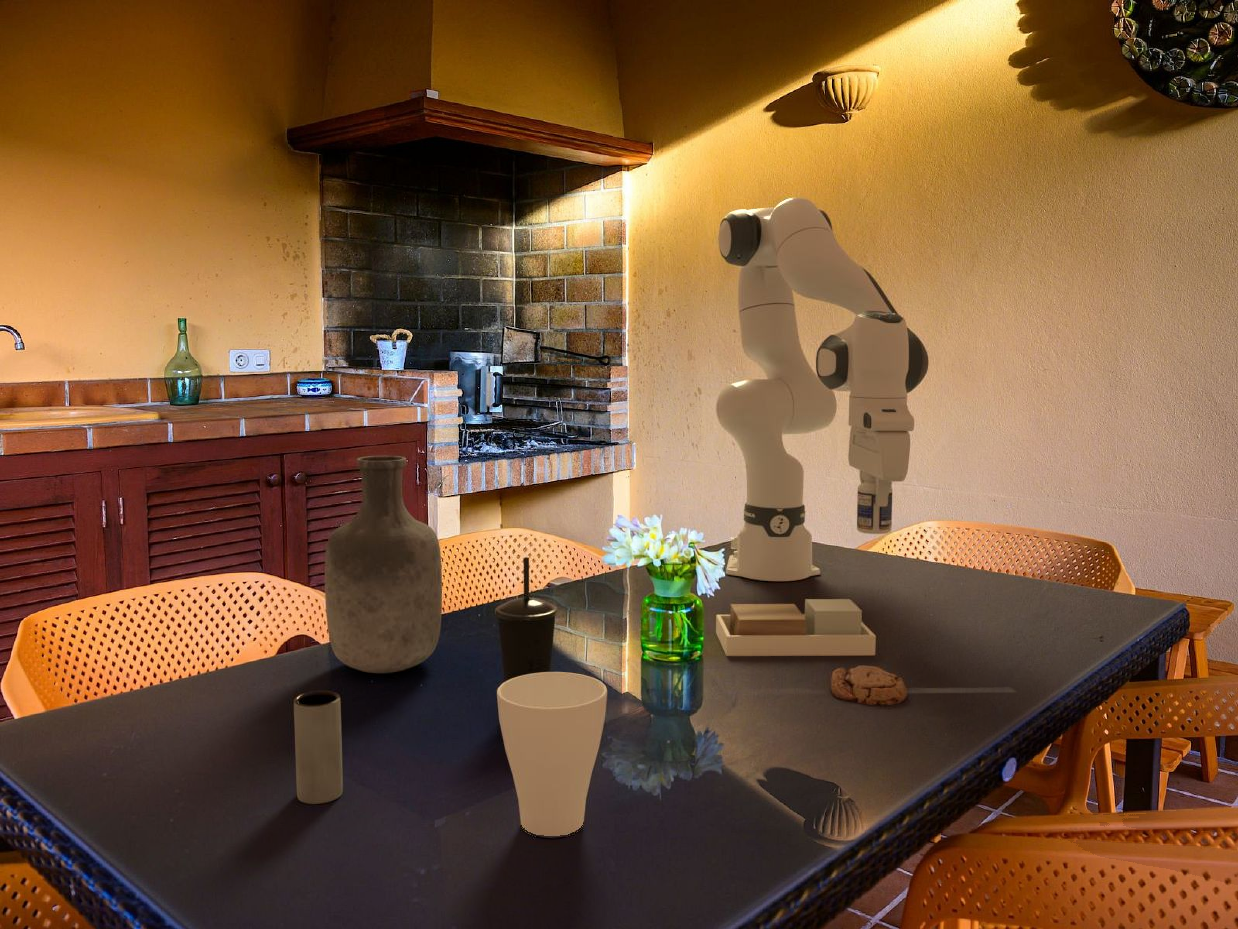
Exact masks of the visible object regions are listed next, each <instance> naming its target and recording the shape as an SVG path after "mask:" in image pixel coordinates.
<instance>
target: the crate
mask: <svg viewBox="0 0 1238 929" xmlns="http://www.w3.org/2000/svg"><path fill="white" fill-rule="evenodd" d="M802 614H803V616H804V617H805V613H802ZM715 621H716V622H715V634H716V636H717V639H718V641H719V643H720V644H721V647H722V649H723V651H724V654H725V656H726V657H771V656H772V657H774V656H775V657H791V656H792V657H802V656H804V657H807V656H808V657H810V656H811V657H813V656H814V657H815V656H816V657H817V656H819V657H820V656H821V657H822V656H829V657H831V656H833V657H836V656H838V657H839V656H841V657H842V656H846V657H847V656H854V657H855V656H876V646H877V645H876V642H877V641H876V640H877V639H876V638H877V636H876V634H874V632H873V631H871V629H870V628H868V626H867V625H865V623H864V622H863V621H862V622H861V635H730V614H716V616H715Z"/></svg>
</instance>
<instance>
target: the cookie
mask: <svg viewBox="0 0 1238 929" xmlns="http://www.w3.org/2000/svg"><path fill="white" fill-rule="evenodd" d="M830 678H831V679H830V686H831V687H830V691H831V693H832V695H833V696H835V697H836V698H839V699H841V700H847V701H853V702H854V701H855V702H857V703H858V704H866V705H870V706H871V705H872V706H873V705H874V706H875V705H883V706H884V705H885V706H887V705H888V706H892V705H895V704H901V703H902V702H903V701H905V700H906V698H907V692H908V691H907V688H906V686H905V683H904V681H903V678H901V677H899V676H897V674H894V673H890V672H889V671H888V672H887V671H886V670H883V668H880V667H878V666H873V665H869V666H868V665H858V666H856V667H852V668H850V669H849V670H846V669H845V668H844V667H839V668H836V669H835V670H833V671H832V673H831V677H830Z"/></svg>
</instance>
